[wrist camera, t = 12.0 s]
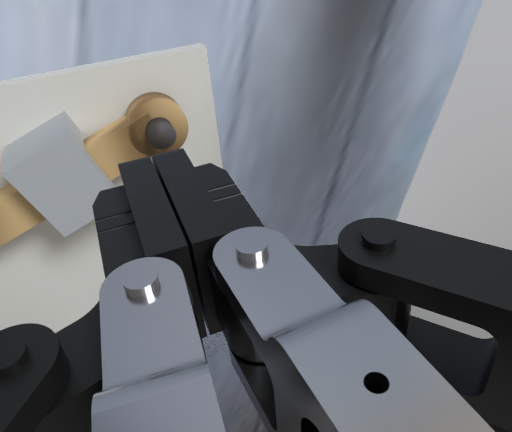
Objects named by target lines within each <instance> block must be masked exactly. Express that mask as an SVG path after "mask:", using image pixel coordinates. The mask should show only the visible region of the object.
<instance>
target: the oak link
mask: <svg viewBox="0 0 512 432" xmlns="http://www.w3.org/2000/svg"><path fill="white" fill-rule="evenodd" d="M188 129H189V128H188V121H187V118H186V116H185V114H184V113H183V111H182V110H181V108H180V107H179V105H178V104H177V102H176V101H175V100H174V99H173V98H171V97H170V96H168V95H166V94H163V93H159V92H149V93H145V94H142V95H140V96H138V97H137V98H135V99H134V100H133V101H132V102H131V103H130V105H129V106H128V108H127V110H126V113H125V115H124V116H122V117H121V118H119V119H117V120H116V121H114V122H112V123H111V124H109V125H107V126H105V127H104V128H102V129H100V130H99V131H97V132H95V133H94V134H92V135H90V136H89V137H87V138H85V139H83V141H84V146H85V150H86V151H87V152H88V153H89V155H90V156H91V157H92V158H93V160H94V161H95V162H96V163H97V164H98V166H99V167H100V168H101V169H102V171H103V172H104V173H105V174H106V175H107V177H108V178H109V179H110V180H113V179H115V178H116V177H118V176H120V171H119V167H118V164H120V163H124V162H128V161H132V160H136V159H140V158H144V157H148V156H149V157H152V155H156V154H160V153H164V152H169V151H173V150H177V149H180V148H181V146H182V145H183V144H184V142H185V140H186V138H187V135H188ZM44 220H46V218H45V217H44V216H43V215H42V214H41V213H40V212H39V211H38V210H37V209H36V208H35V207H34V206H33V205H32V204H31V203H30V202H29V201H28V200H27V199H26V198H25V197H24V196H23V195H22V194H21V193H20V192H19V191H18V190H17V189H16V188H14V187H13V186H12V185H11V184H10V183H9V184H7V185H5V186H4V187H2V188H0V246H2V245H4V244H5V243H7V242H9V241H10V240H12V239H14V238H15V237H17V236H19V235H21V234H22V233H24V232H26V231H27V230H29V229H31V228H32V227H34V226H36V225H37V224H39V223H41V222H42V221H44Z"/></svg>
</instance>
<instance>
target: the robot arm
mask: <svg viewBox="0 0 512 432" xmlns="http://www.w3.org/2000/svg"><path fill="white" fill-rule="evenodd" d="M152 162H153V163H152ZM118 167H119V171H120V175H121V178H122V181H123V185H122V186H118V187H114V188H110V189H106V190H102V191H100V192H99V194H98V195H97V197H96V199H95V201H94V203H93V205H92V208H93V213H94V219H95V224H96V230H97V234H98V241H99V247H100V252H101V258H102V263H103V269H104V274H105V280H104V282H103V283H102V285H101V288H100V292H99V301H98V303H97V304H96V305H95V306H94V307H93V308H92V309H91V310H90V311H89V312H88V313H87V314H85V315H84V316H83V317H82V318H80V319H78V320H77V321H75V322H74V323H72V324H70V325H68V326H67V327H65V328H63V329H62V330H60V331H58V332H56V333H54V332H53V331H52V330H51V329H50V328H48V327H47V326H44V325H41V324H35V323H25V324H19V325H15V326H11V327H8V328H5V329H3V330H0V432H225V428H224V424H223V420H222V416H221V413H220V409H219V405H218V401H217V397H216V393H215V390H214V386H213V382H212V378H211V374H210V371H209V367H208V363H207V360H206V355H205V350H204V346H203V341H202V338H204V337H207V333H206V328H205V324H204V320H205V323H206V325H207V328H208V330H209V333H210V335H212V334H215V333H218V332H220V331H223V333H224V335H225V338H226V340H227V342H228V347H229V352H230V358H231V362H232V365H233V367H234V369H235V371H236V373H237V374H238V376H239V378H240V380H241V382H242V384H243V386H244V388H245V390H246V392H247V393H248V395H249V397H250V399H251V401H252V403H253V405H254V407H255V409H256V410H257V412H258V414H259V416H260V418H261V420H262V422H263V424H264V426H265V428H266V429H267V431H268V432H512V250H508V249H504V248H500V247H496V246H492V245H488V244H484V243H481V242H477V241H473V240H468V239H465V238H461V237H457V236H453V235H449V234H445V233H441V232H437V231H433V230H429V229H425V228H422V227H418V226H414V225H410V224H406V223H402V222H398V221H394V220H390V219H385V218H365V219H361V220H357V221H354V222H352V223H350V224H348V225H347V226H346V227H344V228H343V230H342V231H341V232H340V234H339V237H338V244H335V245H322V246H297V245H293V244H292V243H291V242H290V241H289V239H288V238H287V237H286V236H285V235H283V234H282V233H280V232H279V231H276V230H274V229H271V228H266V227H264V226H263V224H262V223H261V221H260V220H259V218H258V217H257V215H256V214H255V212H254V211H253V209H252V208H251V206H250V205H249V204H248V202H247V201H246V199H245V198H244V196H243V195H241V192H240V190H239V189H238V187H237V186H236V185H235V184H234V182H233V180H232V179H231V177H230V176H229V174H228V173H227V171H226V170H224V169H222V168H220V167H218V166H216V165H214V164H212V163H208V164H204V165H200V166H196V167H194V166H193V164H192V162H191V160H190V159H189V157H188V155H187V154H186V152H185V150H184V149H183V148H181V149H177V150H173V151H169V152H164V153H160V154H156V155H152V161H151V158H150V157H149V156H148V157H144V158H140V159H136V160H132V161H128V162H124V163H120V164H118ZM411 305H414V306H417V307H420V308H423V309H426V310H429V311H432V312H435V313H438V314H441V315H444V316H447V317H450V318H453V319H456V320H459V321H462V322H465V323H468V324H471V325H474V326H477V327H480V328H482V329H484V330H486V331H488V332H489V333H490V334H491V335H492V336H493V338H489V339H480V338H476V337H472V336H470V335H467V334H464V333H461V332H458V331H455V330H452V329H449V328H446V327H443V326H440V325H437V324H435V323H431V322H429V321H426V320H423V319H420V318H417V317H414V316H411V315H410V311H411ZM203 318H204V319H203Z"/></svg>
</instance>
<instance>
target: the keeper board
mask: <svg viewBox="0 0 512 432" xmlns="http://www.w3.org/2000/svg"><path fill="white" fill-rule="evenodd" d="M149 92H159V93H163V94H166V95H168V96H170V97H171V98H173V99H174V100H175V101H176V102H177V104H178V105H179V107H180V108H181V110H182V111H183V113H184V114H185V116H186V118H187V121H188V128H189V129H188V135H187V138H186V140H185V142H184V144H183V145H182V146H181V148H183V149H184V150H185V152H186V154H187V155H188V157H189V159H190V160H191V162H192V164H193V166H194V167H196V166H200V165H204V164H208V163H212V164H214V165H216V166H218V167H220V168H222V169H223V166H222V159H221V152H220V145H219V137H218V130H217V123H216V116H215V109H214V101H213V94H212V87H211V80H210V72H209V65H208V58H207V51H206V46H205V45H204V44H202V43H198V44H192V45H187V46H182V47H176V48H171V49H166V50H160V51H155V52H150V53H144V54H139V55H134V56H128V57H123V58H118V59H113V60H107V61H102V62H97V63H91V64H86V65H81V66H75V67H70V68H65V69H59V70H54V71H49V72H43V73H38V74H33V75H27V76H22V77H17V78H11V79H6V80H1V81H0V188H2V187H4V186H5V185H7V184H9V183H10V184H11V185H12V186H13V187H14V188H16V189H17V190H18V191H19V192H20V193H21V194H22V195H23V196H24V197H25V198H26V199H27V200H28V201H29V202H30V203H31V204H32V205H33V206H34V207H35V208H36V209H37V210H38V211H39V212H40V213H41V214H42V215H43V216H44V217H45V218H46V220H44V221H42V222H41V223H39V224H37V225H36V226H34V227H32V228H31V229H29V230H27V231H26V232H24V233H22V234H21V235H19V236H17V237H15V238H14V239H12V240H10V241H9V242H7V243H5V244H4V245H2V246H0V330H3V329H5V328H8V327H11V326H15V325H19V324H25V323H35V324H41V325H44V326H47V327H48V328H50V329H51V330H52V331H53V332H54V333H56V332H58V331H60V330H62V329H63V328H65V327H67V326H68V325H70V324H72V323H74V322H75V321H77V320H78V319H80V318H82V317H83V316H84V315H85V314H87V313H88V312H89V311H90V310H91V309H92V308H93V307H94V306H95V305H96V304H97V303H98V301H99V292H100V288H101V285H102V283H103V282H104V280H105V274H104V269H103V263H102V258H101V252H100V247H99V241H98V234H97V230H96V224H95V219H94V213H93V208H92V205H93V203H94V201H95V199H96V197H97V195H98V194H99V192H100V191H102V190H106V189H110V188H114V187H118V186H122V185H123V181H122V178H121V175H120V176H118V177H116V178H115V179H113V180H110V179H109V178H108V177H107V175H106V174H105V173H104V172H103V171H102V169H101V168H100V167H99V166H98V164H97V163H96V162H95V161H94V160H93V158H92V157H91V156H90V155H89V153H88V152H87V151H86V150H85V146H84V141H83V139H85V138H87V137H89V136H90V135H92V134H94V133H95V132H97V131H99V130H100V129H102V128H104V127H105V126H107V125H109V124H111V123H112V122H114V121H116V120H117V119H119V118H121V117H122V116H124V115H125V113H126V110H127V108H128V106H129V105H130V103H131V102H132V101H133V100H134V99H135V98H137V97H138V96H140V95H142V94H145V93H149ZM181 148H180V149H181ZM150 158H151V161H152V157H150ZM152 163H153V162H152Z"/></svg>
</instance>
